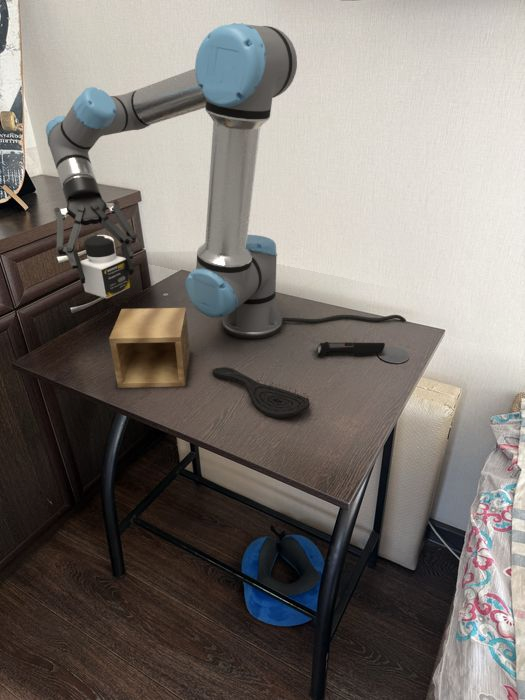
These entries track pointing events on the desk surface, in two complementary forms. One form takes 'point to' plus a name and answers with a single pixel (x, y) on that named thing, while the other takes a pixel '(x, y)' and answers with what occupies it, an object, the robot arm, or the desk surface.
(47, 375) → the desk surface
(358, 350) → the electric trimmer
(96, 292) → the medicine bottle
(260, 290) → the robot arm
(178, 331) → the shelf
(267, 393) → the hairbrush
